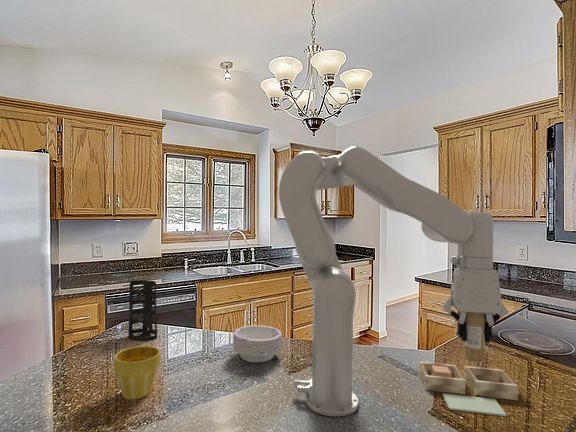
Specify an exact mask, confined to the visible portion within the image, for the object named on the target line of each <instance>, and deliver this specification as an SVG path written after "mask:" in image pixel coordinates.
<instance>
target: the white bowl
mask: <svg viewBox="0 0 576 432" xmlns="http://www.w3.org/2000/svg"><path fill="white" fill-rule="evenodd" d="M232 335H233V336H232V339H233V340H232V349H233V350H234V352H235V353H238V355H239V356H240V357H241V359H242V360H244V361H245V362H247V363H248V362H249V363H254V364H255V363H257V364H258V363H259V364H260V363H265V362H268V361H270V360H272V359H273V358H274V356H275V355H276V354H278V353H279V352H280V351H281V350H282V340H283V333H282V331H281V330H280V329H278V328H276V327H273V326H268V325H254V324H253V325H246V326H241V327H239V328H236V329H235V330H234V331H233V334H232Z"/></svg>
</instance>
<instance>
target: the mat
mask: <svg viewBox="0 0 576 432" xmlns="http://www.w3.org/2000/svg"><path fill="white" fill-rule="evenodd" d="M442 397H443V399H444V401H445V403H446V406H447V407H448V409H449V410H450V411H458V412H464V413H465V412H466V413H473V414H475V413H476V414H482V415H491V416H498V417H507V416H508V414H507V412H506V411H505V410H504V409H503V408H502V407H501V405H500V403H498V401H497V400H496V398H490V397H481V396H471V395H463V394H455V393H452V394H451V393H446V392H442Z"/></svg>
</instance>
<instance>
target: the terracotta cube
mask: <svg viewBox="0 0 576 432" xmlns="http://www.w3.org/2000/svg"><path fill="white" fill-rule="evenodd" d="M431 376H440V377H450V378H451V372H450V371H449V369H448V367H444V366H434V365H432V375H431Z"/></svg>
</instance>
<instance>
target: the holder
mask: <svg viewBox="0 0 576 432" xmlns="http://www.w3.org/2000/svg"><path fill="white" fill-rule="evenodd" d="M137 285H143V286H142V287H143V289H142V290H134V287H135V286H137ZM128 294H129V298H128V299H129V303H128V339H131V340H137V341H151V340H152V341H153V340H156V339H157V338H158V326H157V325H158V323H157V321H158V320H157V282H156V281H155V280H145V279H144V280H143V279H141V280H131V281H129V293H128ZM134 295H137V299H136V300H135V299H134ZM137 304H138V305H140V304H141V305H142V309H133V308H134V307H133V306H135V305H137ZM135 314H136V319H133V315H135ZM139 323H142V326H141V328H136V329H135V328H134V329H133V325H134V324H139ZM153 325H154V328H153ZM134 334H137V335H134ZM150 335H152V336H150Z"/></svg>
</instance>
